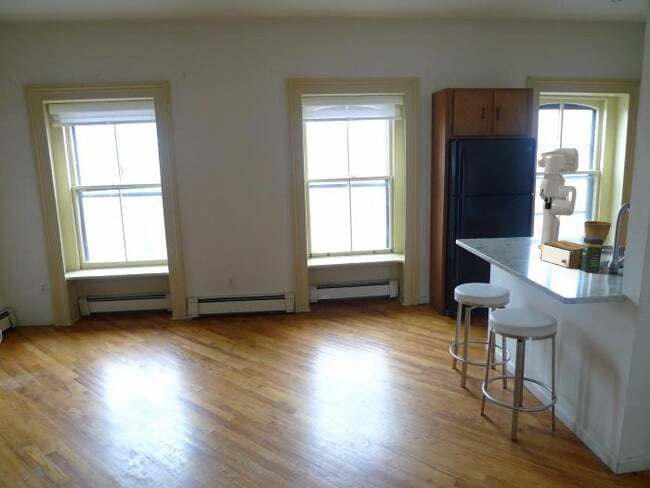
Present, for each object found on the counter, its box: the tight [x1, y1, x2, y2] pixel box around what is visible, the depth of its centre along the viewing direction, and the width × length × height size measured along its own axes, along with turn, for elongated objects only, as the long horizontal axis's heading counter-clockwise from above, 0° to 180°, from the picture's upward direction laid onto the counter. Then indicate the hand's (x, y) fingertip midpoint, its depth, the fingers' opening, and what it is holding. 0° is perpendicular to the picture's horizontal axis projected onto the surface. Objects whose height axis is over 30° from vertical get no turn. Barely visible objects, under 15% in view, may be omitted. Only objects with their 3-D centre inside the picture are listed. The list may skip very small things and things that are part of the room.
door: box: [539, 244, 571, 268], centre depth 243 cm, size 2×19×9 cm, turn 19°
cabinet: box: [544, 239, 583, 270], centre depth 245 cm, size 14×20×11 cm
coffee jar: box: [579, 235, 604, 274], centre depth 229 cm, size 10×8×19 cm
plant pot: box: [583, 220, 612, 245], centre depth 284 cm, size 15×15×16 cm
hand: (547, 209), depth 252 cm, fingers closed
